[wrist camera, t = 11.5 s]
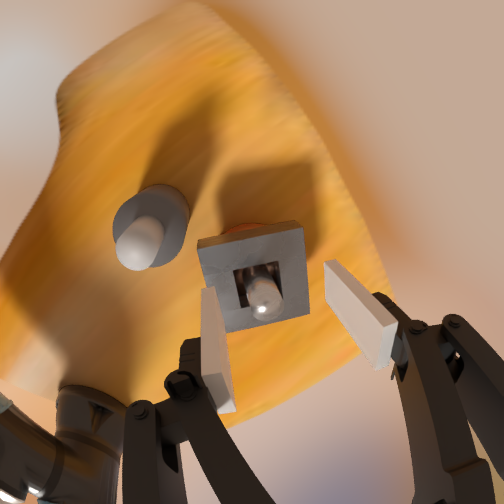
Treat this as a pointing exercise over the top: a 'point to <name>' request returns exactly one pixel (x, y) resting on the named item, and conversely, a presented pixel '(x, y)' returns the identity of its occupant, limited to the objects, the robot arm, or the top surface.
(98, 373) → the top surface
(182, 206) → the stand
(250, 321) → the hollow square frame
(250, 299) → the hub
